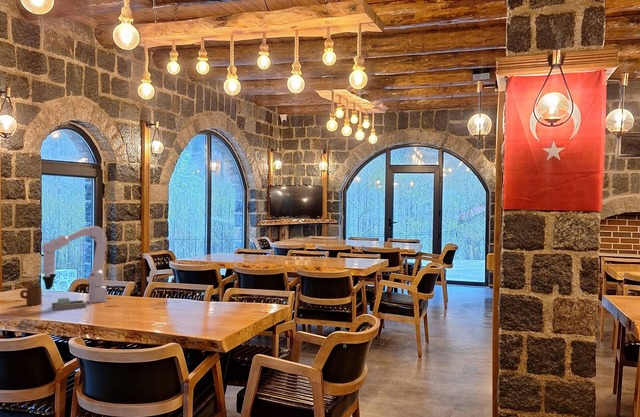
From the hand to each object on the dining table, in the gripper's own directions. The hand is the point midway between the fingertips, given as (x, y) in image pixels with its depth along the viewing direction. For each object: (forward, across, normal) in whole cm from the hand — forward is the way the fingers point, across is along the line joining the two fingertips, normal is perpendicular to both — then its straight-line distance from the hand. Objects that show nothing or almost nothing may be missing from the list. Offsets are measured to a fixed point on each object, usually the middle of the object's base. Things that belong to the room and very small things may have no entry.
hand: (49, 288), depth 297 cm
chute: (+10, +8, +10) cm, 16 cm away
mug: (+10, -6, -10) cm, 15 cm away
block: (+10, +8, +8) cm, 15 cm away
